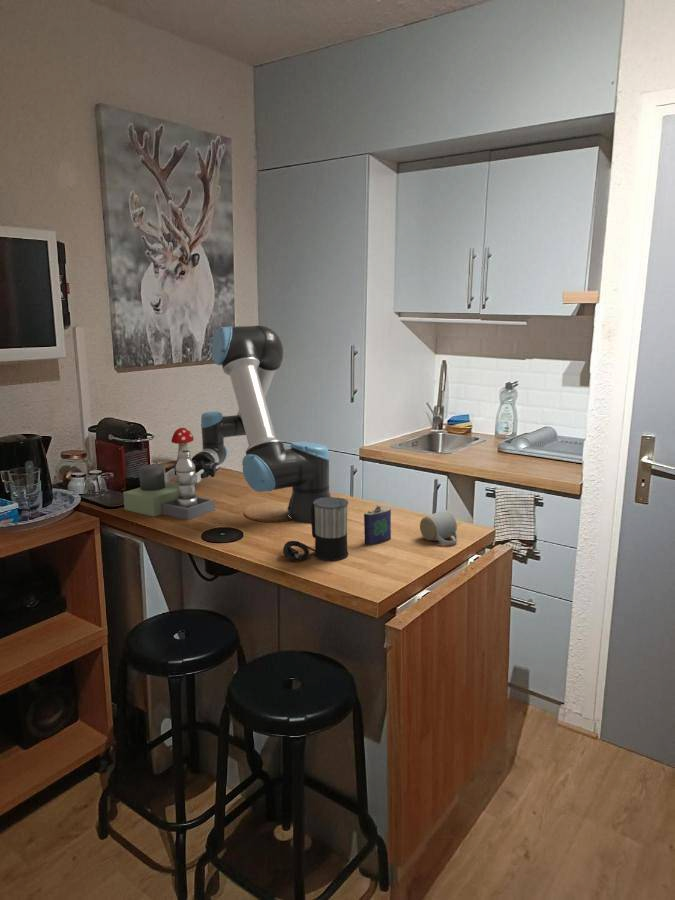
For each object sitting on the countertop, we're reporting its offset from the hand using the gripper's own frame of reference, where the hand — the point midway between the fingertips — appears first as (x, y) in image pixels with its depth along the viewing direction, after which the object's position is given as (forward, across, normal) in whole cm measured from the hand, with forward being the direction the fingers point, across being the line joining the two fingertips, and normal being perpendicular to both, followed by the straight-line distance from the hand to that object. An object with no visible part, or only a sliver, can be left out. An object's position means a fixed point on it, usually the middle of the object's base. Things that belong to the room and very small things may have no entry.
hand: (180, 478), depth 211 cm
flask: (+16, -63, -13) cm, 66 cm away
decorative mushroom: (-72, +27, -13) cm, 78 cm away
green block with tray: (-7, +6, -12) cm, 16 cm away
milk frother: (+29, -48, -13) cm, 57 cm away
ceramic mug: (+13, -81, -13) cm, 83 cm away
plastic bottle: (-4, 0, -13) cm, 13 cm away
